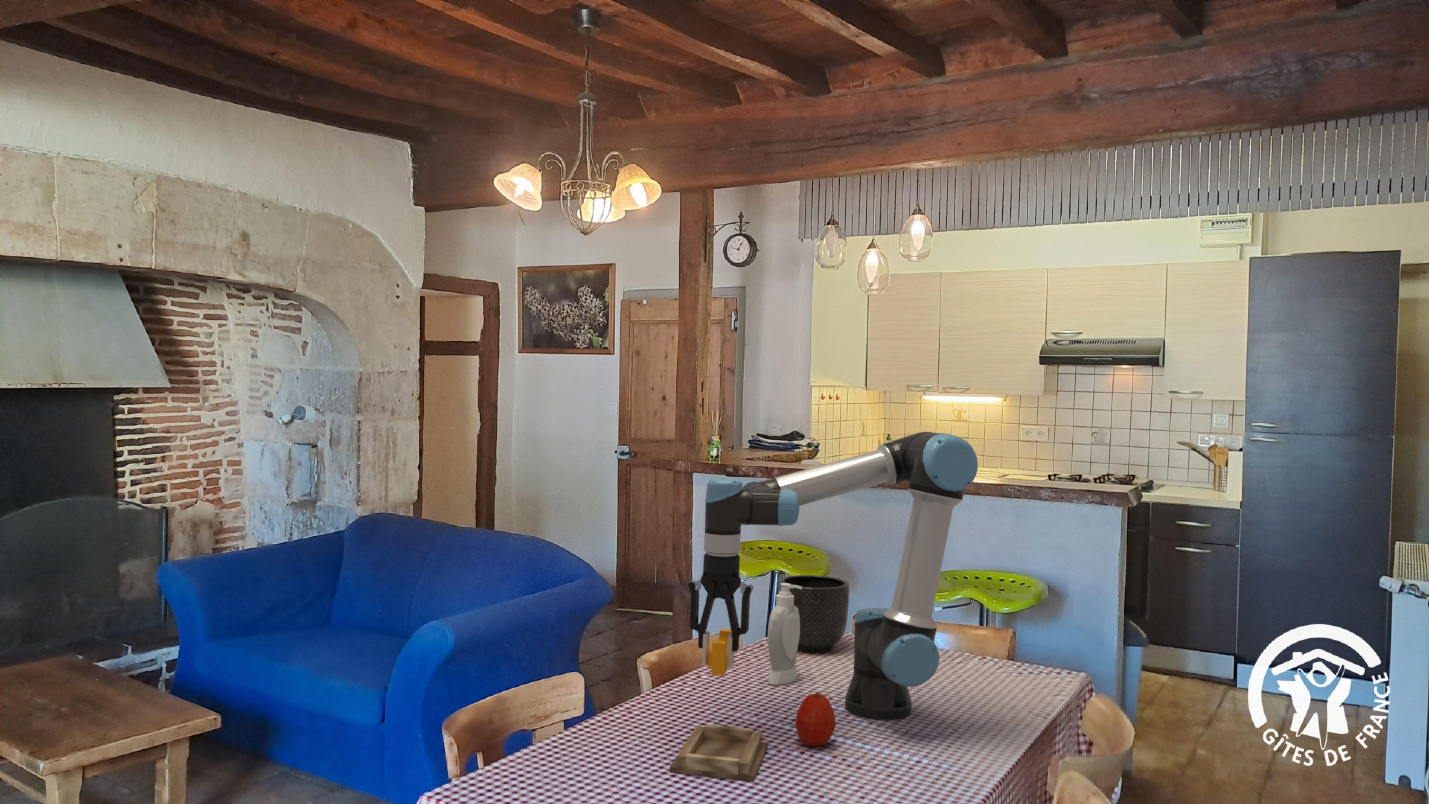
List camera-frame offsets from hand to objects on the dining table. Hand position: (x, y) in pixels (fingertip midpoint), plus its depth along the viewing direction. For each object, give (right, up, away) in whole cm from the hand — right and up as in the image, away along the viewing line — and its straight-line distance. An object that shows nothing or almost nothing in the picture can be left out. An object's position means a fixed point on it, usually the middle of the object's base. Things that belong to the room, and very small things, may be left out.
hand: (717, 665), depth 201 cm
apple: (+20, -16, -2) cm, 26 cm away
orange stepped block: (0, -1, 0) cm, 1 cm away
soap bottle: (+17, -15, +40) cm, 46 cm away
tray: (0, -15, -12) cm, 19 cm away
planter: (+27, -15, +73) cm, 79 cm away
